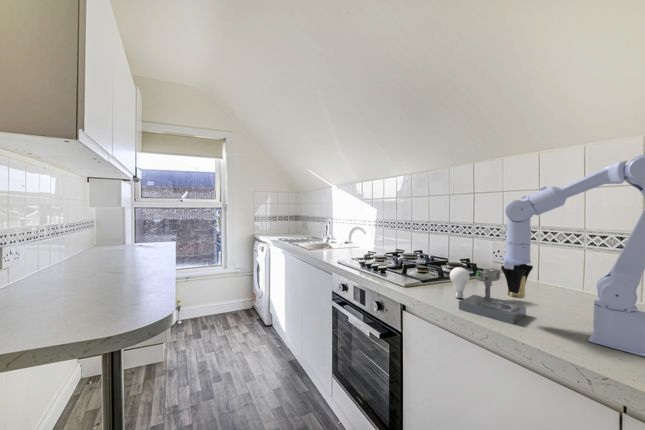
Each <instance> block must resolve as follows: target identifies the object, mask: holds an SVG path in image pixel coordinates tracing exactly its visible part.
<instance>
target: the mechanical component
mask: <svg viewBox="0 0 645 430" xmlns="http://www.w3.org/2000/svg"><path fill="white" fill-rule="evenodd" d="M500 278H501V269H498V268H484V269H483V271H482V270H476V271H475V279H476V280H477V281H479V282H483V285H484V297H486V298H490V299H491V286H493V282H497V281H499V280H500Z"/></svg>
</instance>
